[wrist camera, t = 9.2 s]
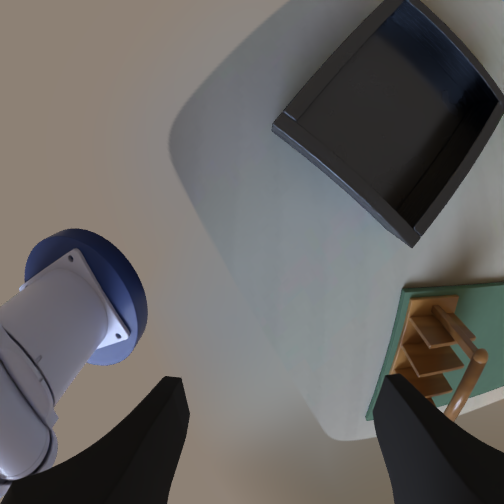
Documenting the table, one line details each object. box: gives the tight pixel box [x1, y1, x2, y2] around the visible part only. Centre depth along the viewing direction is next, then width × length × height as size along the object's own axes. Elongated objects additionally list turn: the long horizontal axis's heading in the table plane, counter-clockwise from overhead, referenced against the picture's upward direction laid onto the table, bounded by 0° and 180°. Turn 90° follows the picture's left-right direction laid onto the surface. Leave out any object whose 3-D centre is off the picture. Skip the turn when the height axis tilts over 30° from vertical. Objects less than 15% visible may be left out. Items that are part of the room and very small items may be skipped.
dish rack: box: [389, 295, 488, 422], centre depth 16 cm, size 8×4×8 cm, turn 1°
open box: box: [271, 0, 504, 248], centre depth 13 cm, size 12×10×4 cm
